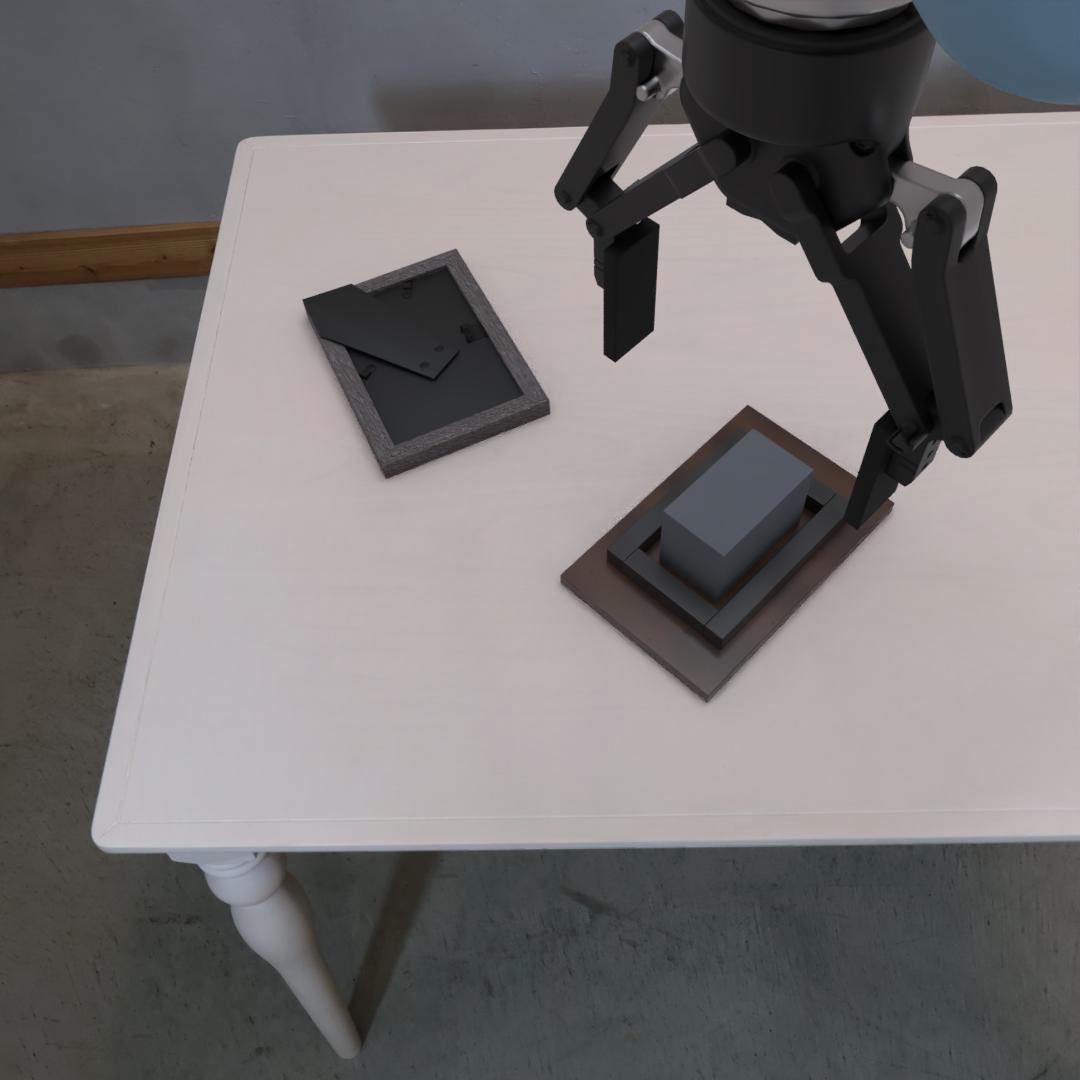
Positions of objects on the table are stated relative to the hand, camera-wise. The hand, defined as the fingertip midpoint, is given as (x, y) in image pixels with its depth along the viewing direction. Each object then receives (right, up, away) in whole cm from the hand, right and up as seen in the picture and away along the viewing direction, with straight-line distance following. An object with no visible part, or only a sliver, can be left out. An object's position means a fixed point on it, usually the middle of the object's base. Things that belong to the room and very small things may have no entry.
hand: (742, 420), depth 50 cm
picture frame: (-18, +8, +38) cm, 43 cm away
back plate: (+4, -6, +28) cm, 29 cm away
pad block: (+4, -5, +27) cm, 28 cm away
